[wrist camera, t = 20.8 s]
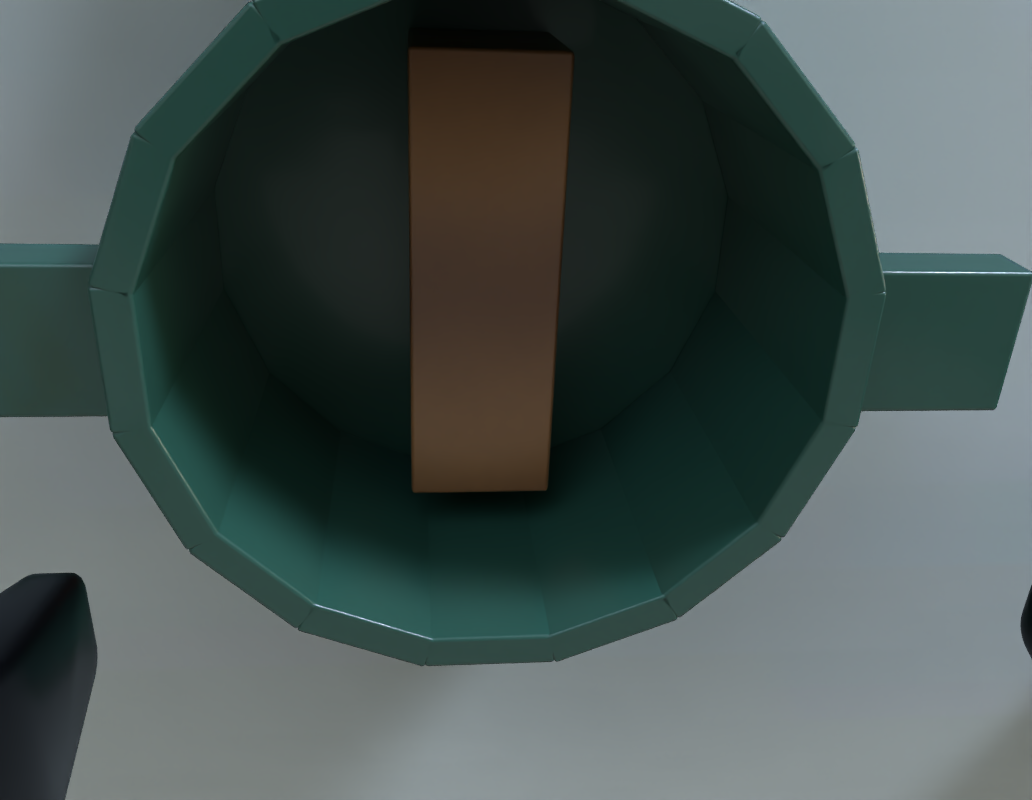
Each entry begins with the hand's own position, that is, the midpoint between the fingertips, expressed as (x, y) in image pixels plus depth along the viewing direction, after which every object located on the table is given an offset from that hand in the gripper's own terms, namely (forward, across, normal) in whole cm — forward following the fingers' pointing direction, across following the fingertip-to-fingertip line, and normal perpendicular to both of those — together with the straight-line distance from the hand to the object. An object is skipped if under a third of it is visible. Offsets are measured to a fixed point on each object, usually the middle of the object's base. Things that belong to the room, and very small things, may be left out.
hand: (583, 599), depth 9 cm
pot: (+12, 0, 0) cm, 12 cm away
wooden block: (+12, 0, 0) cm, 12 cm away
